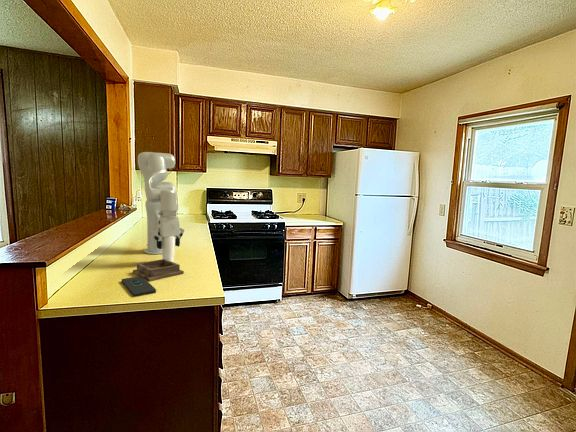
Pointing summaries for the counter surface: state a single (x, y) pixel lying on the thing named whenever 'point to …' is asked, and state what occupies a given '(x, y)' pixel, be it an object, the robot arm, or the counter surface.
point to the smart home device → (138, 286)
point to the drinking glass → (168, 248)
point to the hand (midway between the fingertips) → (168, 247)
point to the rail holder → (157, 269)
